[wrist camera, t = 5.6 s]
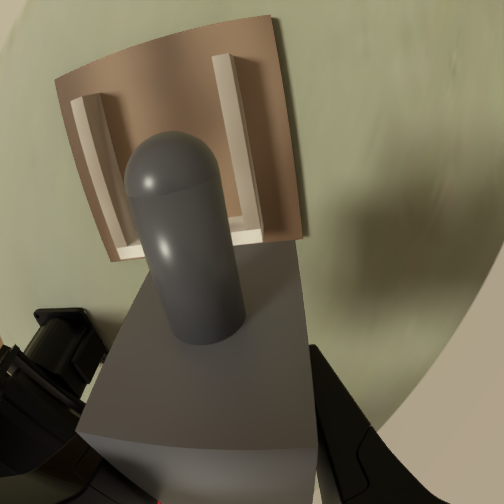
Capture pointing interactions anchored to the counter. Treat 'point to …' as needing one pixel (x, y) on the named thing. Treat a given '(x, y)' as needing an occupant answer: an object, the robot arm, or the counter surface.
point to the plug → (205, 349)
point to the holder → (188, 126)
